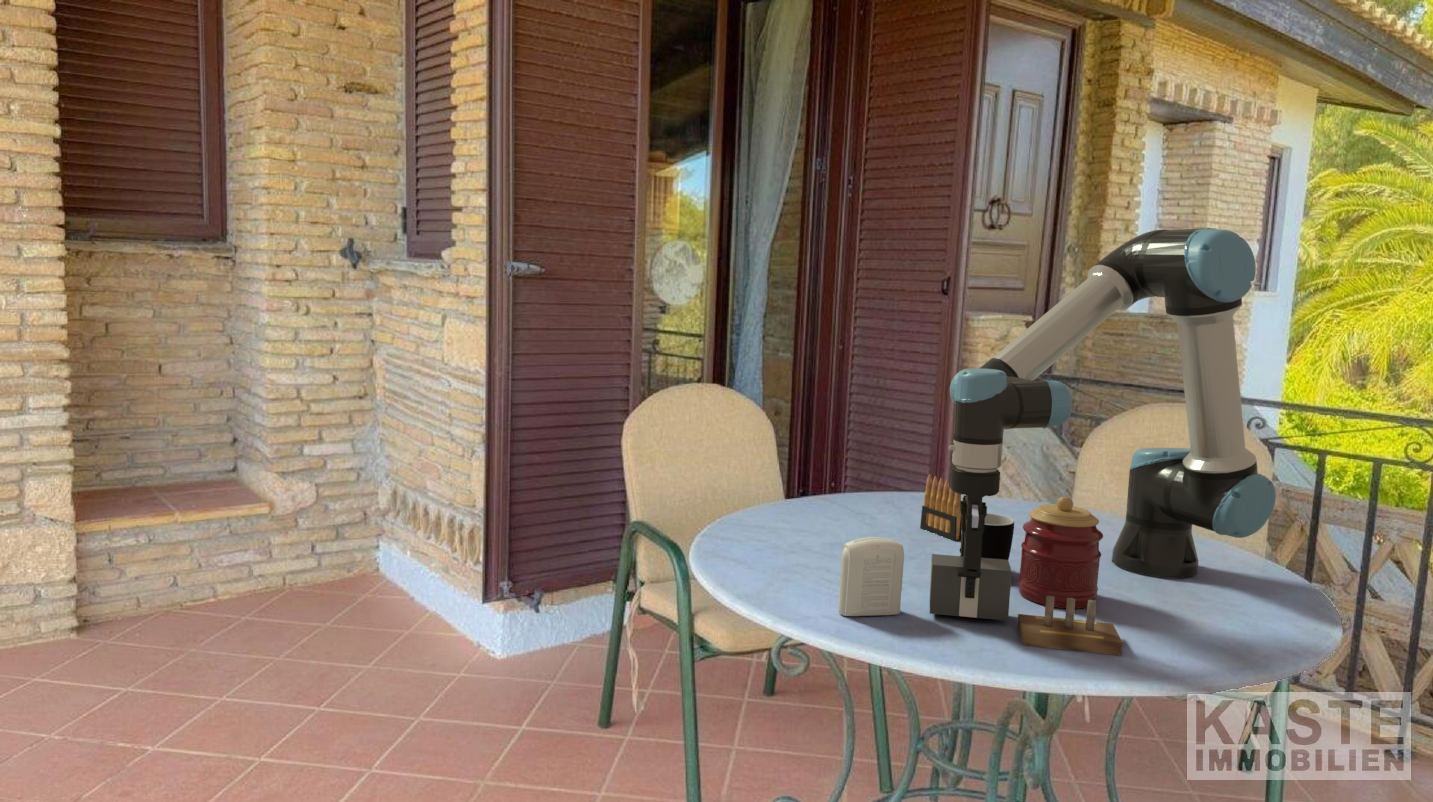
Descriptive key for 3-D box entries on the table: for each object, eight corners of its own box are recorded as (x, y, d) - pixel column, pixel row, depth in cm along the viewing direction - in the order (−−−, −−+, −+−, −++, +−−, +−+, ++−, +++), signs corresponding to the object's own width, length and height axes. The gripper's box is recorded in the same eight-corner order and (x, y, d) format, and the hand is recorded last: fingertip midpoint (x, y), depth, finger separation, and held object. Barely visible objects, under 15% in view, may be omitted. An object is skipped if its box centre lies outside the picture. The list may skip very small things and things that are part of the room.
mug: (1019, 578, 181) (1024, 524, 179) (975, 580, 179) (979, 525, 177) (985, 559, 192) (989, 507, 191) (943, 561, 190) (947, 509, 189)
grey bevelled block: (1005, 607, 162) (1008, 559, 161) (1008, 620, 156) (1011, 571, 155) (929, 601, 164) (932, 553, 163) (929, 613, 158) (932, 564, 157)
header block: (1111, 636, 154) (1115, 595, 153) (1121, 655, 146) (1125, 613, 145) (1017, 626, 156) (1020, 586, 156) (1022, 644, 149) (1025, 602, 148)
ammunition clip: (961, 540, 205) (965, 483, 203) (954, 541, 204) (958, 484, 202) (926, 527, 214) (930, 472, 213) (919, 528, 213) (923, 473, 212)
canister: (1008, 583, 178) (1016, 486, 176) (1082, 586, 178) (1091, 489, 175) (1029, 608, 165) (1037, 504, 163) (1108, 612, 165) (1118, 507, 162)
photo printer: (893, 607, 163) (898, 533, 162) (904, 616, 159) (909, 541, 157) (833, 609, 161) (838, 535, 159) (843, 619, 157) (847, 542, 155)
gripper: (949, 454, 167) (941, 587, 170) (952, 478, 148) (944, 627, 151) (996, 457, 165) (987, 591, 168) (1005, 482, 147) (995, 632, 150)
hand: (966, 608), depth 160 cm, fingers closed on grey bevelled block, 6 cm apart
